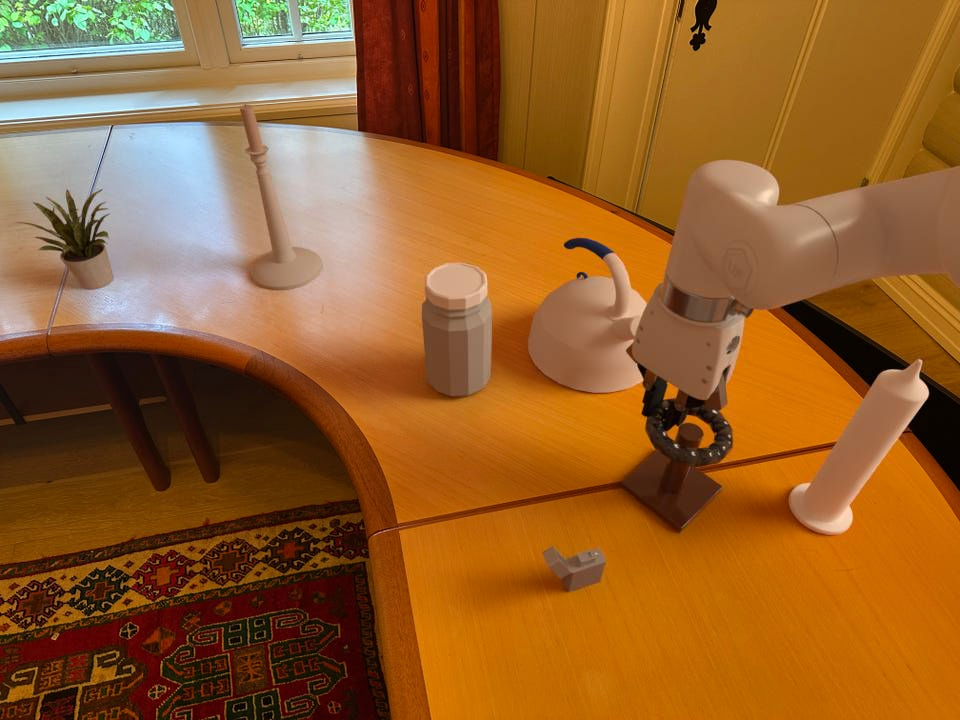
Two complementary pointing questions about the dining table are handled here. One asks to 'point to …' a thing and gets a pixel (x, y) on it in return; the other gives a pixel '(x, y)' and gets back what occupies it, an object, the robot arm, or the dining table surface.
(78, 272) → the house plant
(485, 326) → the jar
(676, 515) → the square plate with peg
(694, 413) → the studded rubber donut
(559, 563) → the lighter
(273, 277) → the candlestick
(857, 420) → the candle
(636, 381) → the kettle
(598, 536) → the dining table surface
